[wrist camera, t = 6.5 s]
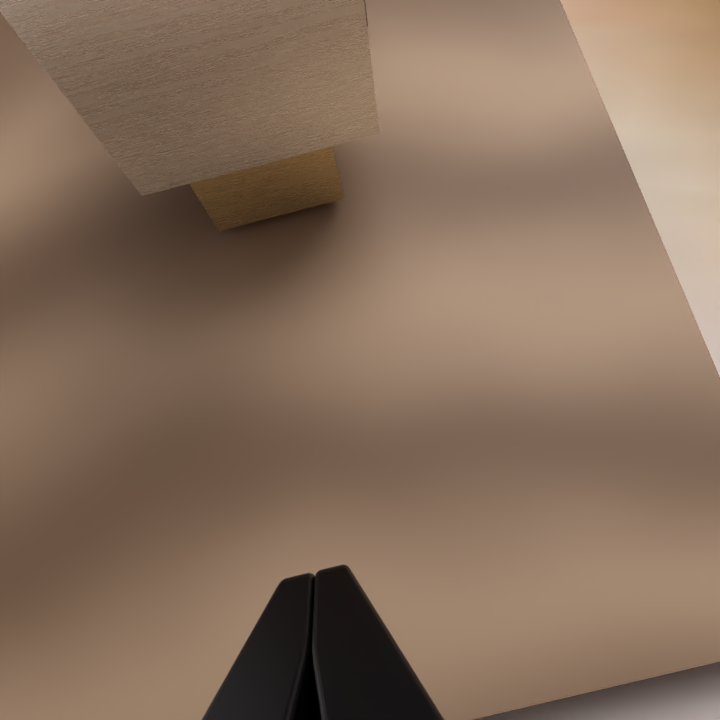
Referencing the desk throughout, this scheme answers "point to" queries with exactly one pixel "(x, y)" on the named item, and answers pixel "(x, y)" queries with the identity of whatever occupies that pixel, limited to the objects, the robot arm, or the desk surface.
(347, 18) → the white boxy piece
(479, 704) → the lock plate
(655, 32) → the desk surface
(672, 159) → the desk surface
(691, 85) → the desk surface
